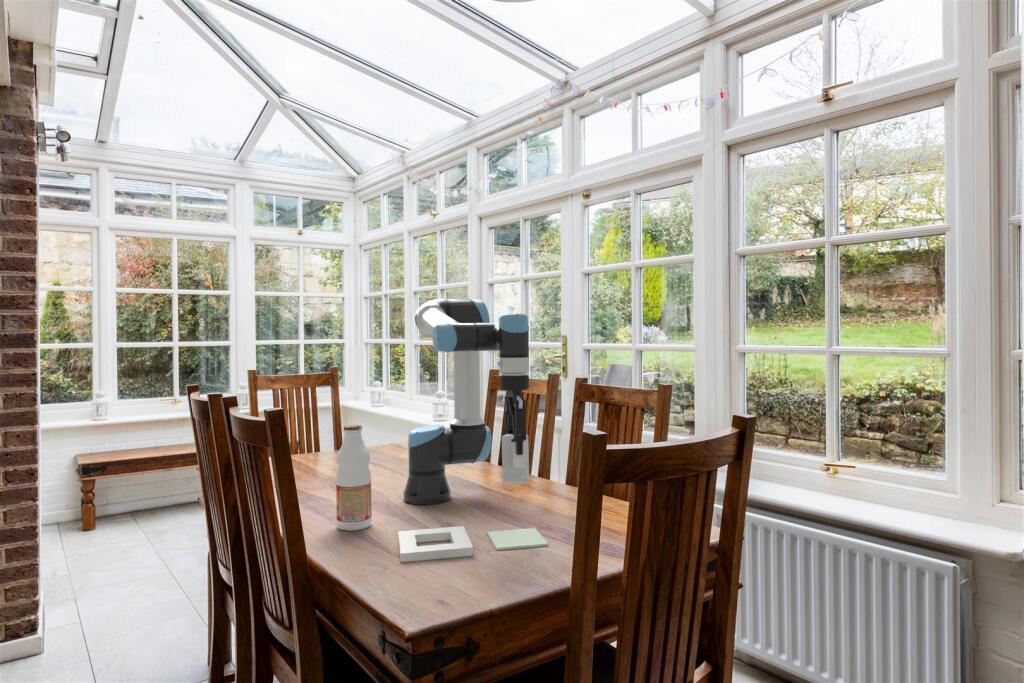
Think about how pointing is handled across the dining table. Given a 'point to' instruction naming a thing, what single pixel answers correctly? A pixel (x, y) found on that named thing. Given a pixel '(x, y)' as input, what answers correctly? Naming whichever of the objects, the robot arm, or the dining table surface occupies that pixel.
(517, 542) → the pad
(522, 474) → the skincare box
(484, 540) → the dining table surface
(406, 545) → the white frame
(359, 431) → the fruit juice
